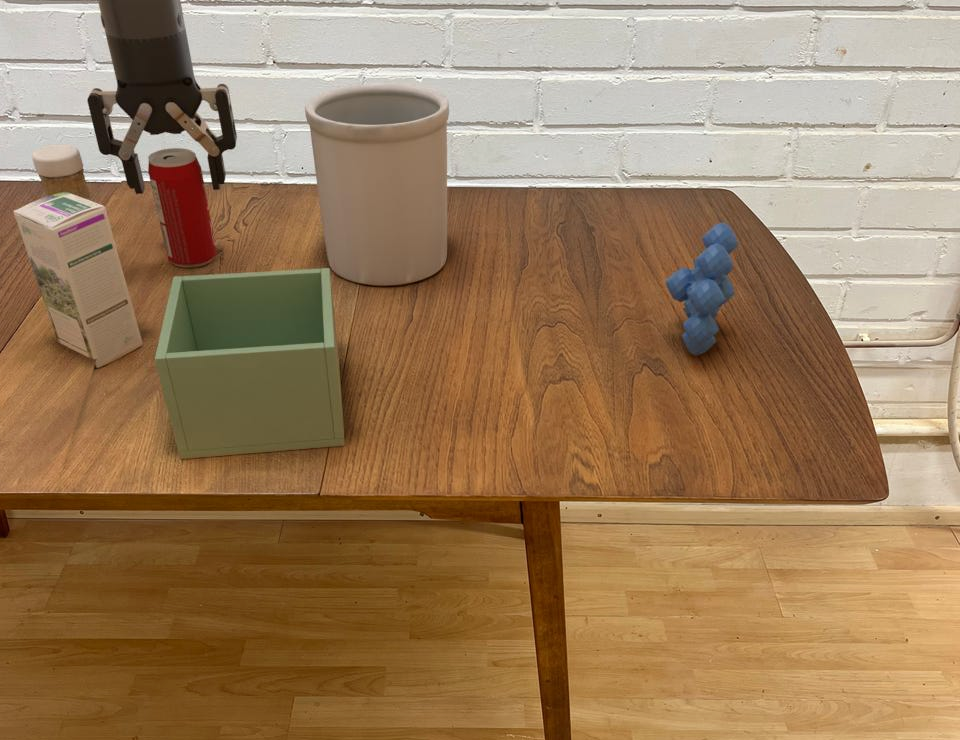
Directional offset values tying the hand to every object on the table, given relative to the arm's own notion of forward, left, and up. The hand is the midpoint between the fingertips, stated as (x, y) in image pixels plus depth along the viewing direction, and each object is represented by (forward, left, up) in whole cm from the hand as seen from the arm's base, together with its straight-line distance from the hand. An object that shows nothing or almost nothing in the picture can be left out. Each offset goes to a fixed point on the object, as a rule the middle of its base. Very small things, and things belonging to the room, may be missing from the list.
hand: (178, 189), depth 97 cm
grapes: (+51, -25, -8) cm, 57 cm away
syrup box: (-7, -19, -8) cm, 22 cm away
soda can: (0, 0, -8) cm, 8 cm away
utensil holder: (+22, -3, -8) cm, 24 cm away
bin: (+9, -31, -8) cm, 33 cm away
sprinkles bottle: (-11, -2, -8) cm, 14 cm away
